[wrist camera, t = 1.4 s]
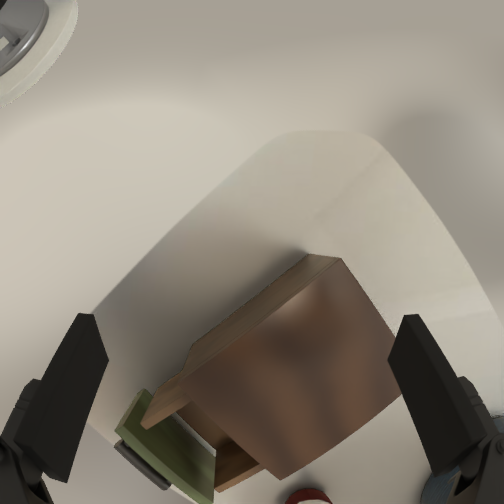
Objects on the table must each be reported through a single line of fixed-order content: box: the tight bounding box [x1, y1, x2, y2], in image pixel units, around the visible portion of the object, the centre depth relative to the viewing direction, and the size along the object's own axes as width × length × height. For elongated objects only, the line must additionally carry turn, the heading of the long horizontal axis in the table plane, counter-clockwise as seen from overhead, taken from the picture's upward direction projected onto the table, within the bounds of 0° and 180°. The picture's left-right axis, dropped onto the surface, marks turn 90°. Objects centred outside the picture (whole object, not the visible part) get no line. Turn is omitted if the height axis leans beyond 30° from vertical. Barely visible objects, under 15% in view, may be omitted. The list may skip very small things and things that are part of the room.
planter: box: [421, 417, 504, 504], centre depth 24 cm, size 22×22×20 cm
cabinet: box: [177, 254, 402, 480], centre depth 27 cm, size 15×13×10 cm
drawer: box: [114, 371, 265, 504], centre depth 26 cm, size 18×11×8 cm, turn 128°
